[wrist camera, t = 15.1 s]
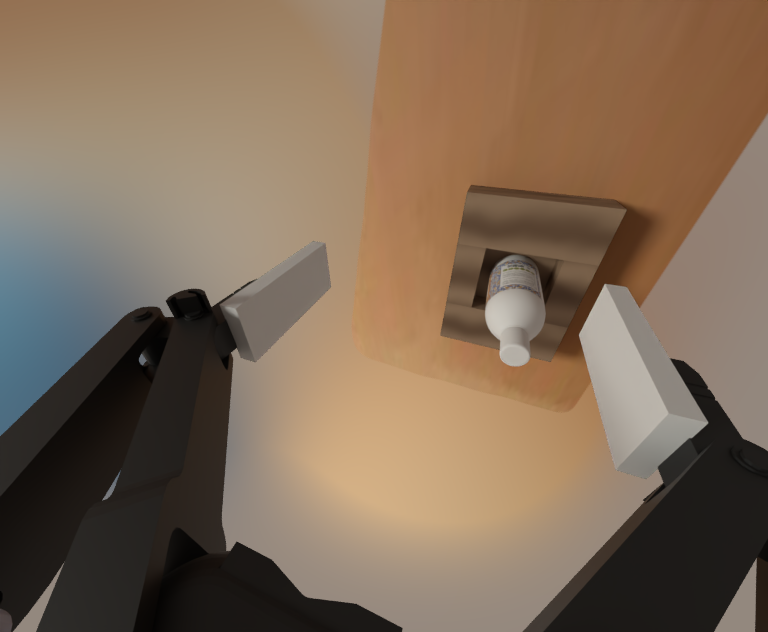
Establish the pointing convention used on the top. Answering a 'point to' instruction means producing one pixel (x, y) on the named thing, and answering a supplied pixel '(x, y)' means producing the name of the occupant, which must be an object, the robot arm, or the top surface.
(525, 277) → the bath foam
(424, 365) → the top surface
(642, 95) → the top surface
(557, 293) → the walnut holder
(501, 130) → the top surface
